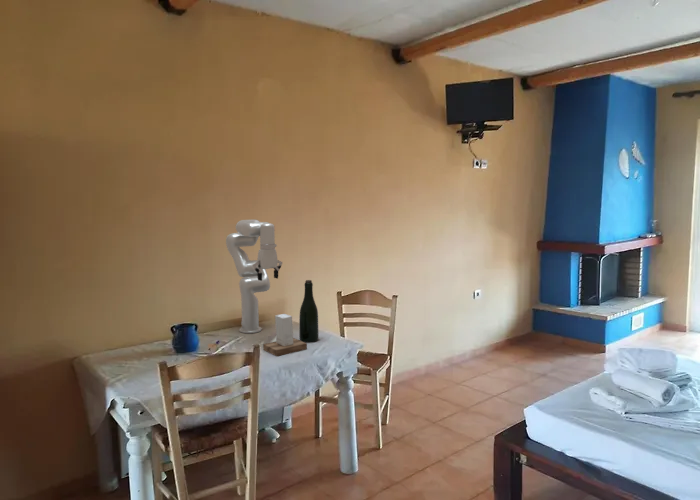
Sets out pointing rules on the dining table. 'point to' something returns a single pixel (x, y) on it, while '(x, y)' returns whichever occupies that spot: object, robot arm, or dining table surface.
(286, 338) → the skincare box
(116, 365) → the dining table surface
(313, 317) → the green wine bottle
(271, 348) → the walnut base
